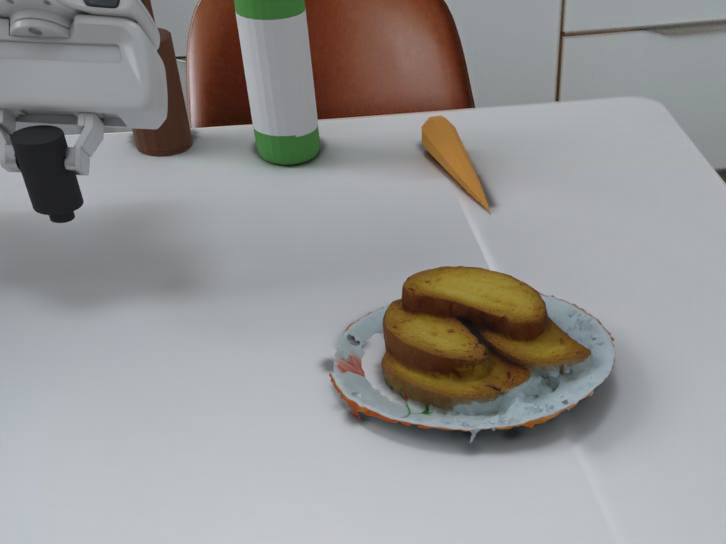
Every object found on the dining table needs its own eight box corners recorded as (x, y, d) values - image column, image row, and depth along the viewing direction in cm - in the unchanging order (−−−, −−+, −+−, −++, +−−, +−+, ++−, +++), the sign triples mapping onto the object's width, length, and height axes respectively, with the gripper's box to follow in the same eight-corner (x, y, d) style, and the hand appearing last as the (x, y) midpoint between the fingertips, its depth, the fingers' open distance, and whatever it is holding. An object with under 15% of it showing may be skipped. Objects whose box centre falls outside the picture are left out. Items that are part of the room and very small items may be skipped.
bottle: (136, 158, 117) (99, 6, 105) (137, 136, 122) (101, -12, 110) (193, 153, 118) (162, 2, 106) (192, 132, 123) (162, -15, 111)
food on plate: (337, 472, 77) (328, 402, 72) (324, 314, 93) (316, 248, 88) (646, 445, 79) (658, 375, 74) (581, 295, 96) (586, 231, 91)
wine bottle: (256, 144, 120) (208, -165, 98) (319, 140, 121) (285, -167, 99) (258, 169, 115) (208, -151, 93) (323, 165, 116) (289, -153, 94)
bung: (35, 230, 86) (7, 146, 81) (39, 209, 89) (12, 126, 84) (86, 226, 87) (61, 142, 81) (88, 205, 90) (65, 123, 84)
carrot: (424, 153, 120) (410, 121, 117) (455, 135, 120) (443, 102, 116) (479, 238, 110) (466, 205, 106) (514, 218, 109) (502, 185, 105)
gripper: (-89, -19, 81) (-94, 149, 81) (151, -10, 80) (144, 160, 81) (-45, 25, 87) (-50, 181, 88) (177, 34, 86) (171, 191, 87)
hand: (45, 171), depth 84 cm, fingers closed on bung, 4 cm apart
